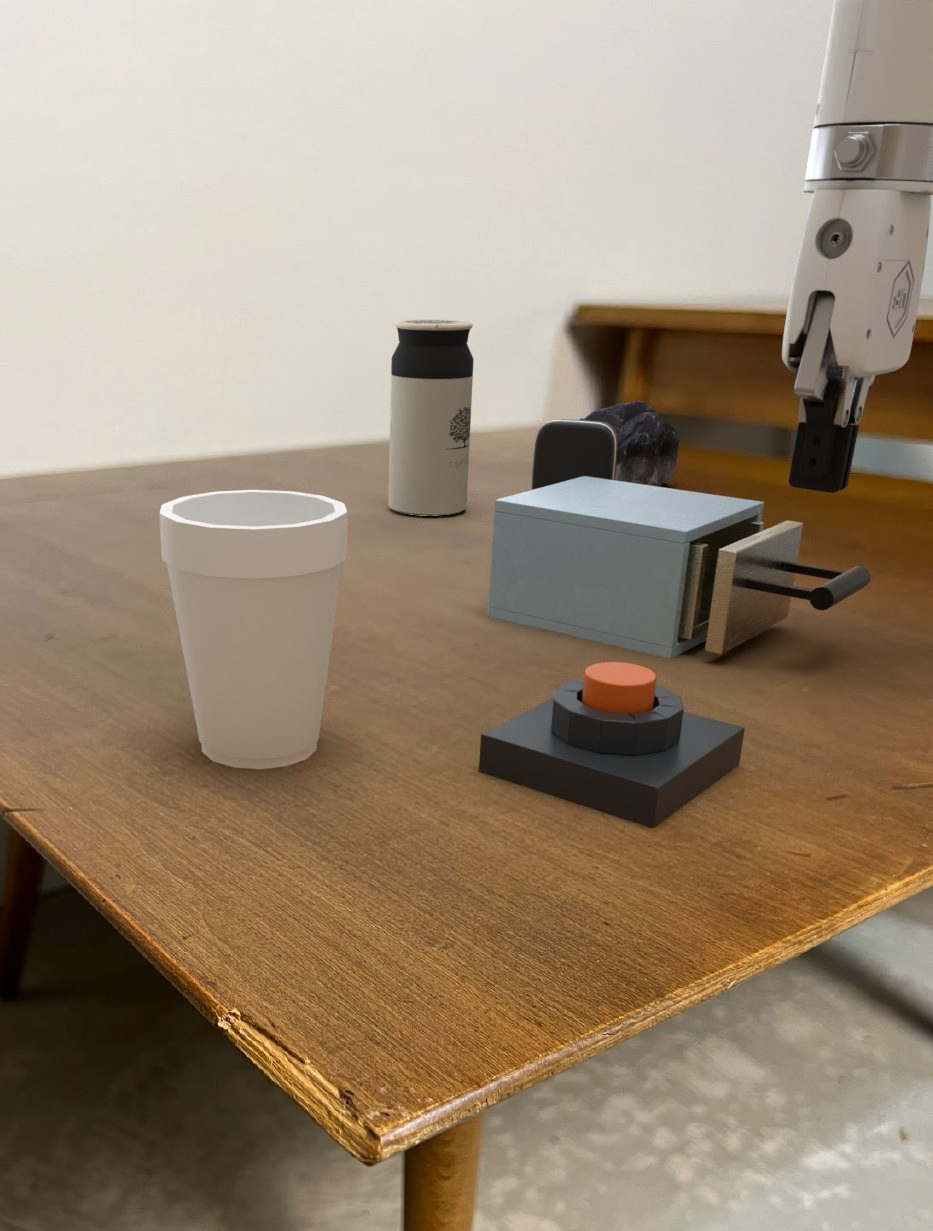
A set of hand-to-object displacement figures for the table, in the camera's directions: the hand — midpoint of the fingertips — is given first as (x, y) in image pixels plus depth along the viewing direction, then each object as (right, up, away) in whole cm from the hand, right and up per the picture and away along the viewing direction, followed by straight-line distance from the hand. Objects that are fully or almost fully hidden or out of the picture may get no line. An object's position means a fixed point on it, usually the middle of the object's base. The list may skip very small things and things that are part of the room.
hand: (817, 487), depth 76 cm
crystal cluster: (0, +15, +61) cm, 62 cm away
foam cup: (-35, -17, -11) cm, 40 cm away
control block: (-16, -18, -13) cm, 27 cm away
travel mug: (-22, +8, +46) cm, 52 cm away
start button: (-16, -15, -14) cm, 26 cm away
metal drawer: (-5, -8, +8) cm, 12 cm away
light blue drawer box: (-10, -7, +12) cm, 17 cm away
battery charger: (-11, +1, +31) cm, 32 cm away
